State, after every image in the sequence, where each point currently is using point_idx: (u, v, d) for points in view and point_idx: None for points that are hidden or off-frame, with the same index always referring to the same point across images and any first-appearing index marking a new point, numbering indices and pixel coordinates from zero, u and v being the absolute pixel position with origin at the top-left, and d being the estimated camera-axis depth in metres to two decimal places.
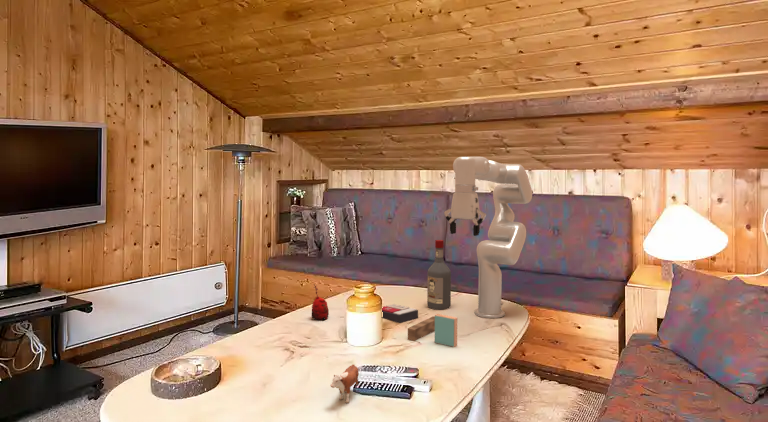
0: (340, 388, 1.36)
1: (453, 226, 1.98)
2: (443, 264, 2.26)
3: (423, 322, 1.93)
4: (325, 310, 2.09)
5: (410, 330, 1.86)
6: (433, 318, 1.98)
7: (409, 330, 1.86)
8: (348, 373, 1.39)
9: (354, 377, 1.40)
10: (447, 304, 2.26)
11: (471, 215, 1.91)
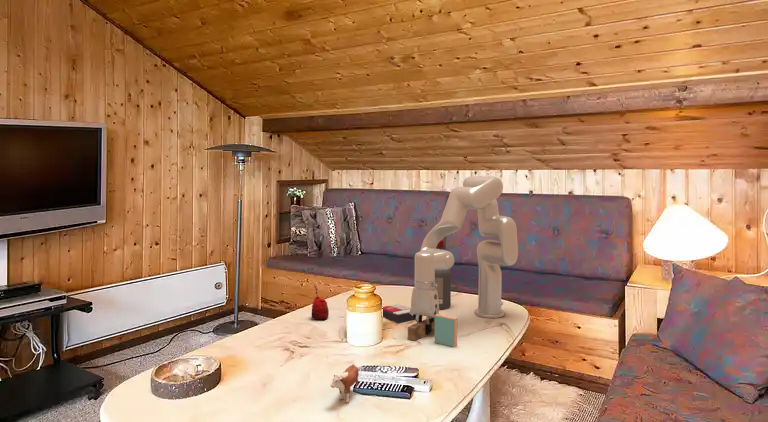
0: (340, 388, 1.36)
1: None
2: None
3: (423, 321, 1.93)
4: (325, 310, 2.09)
5: (410, 329, 1.86)
6: None
7: (409, 329, 1.86)
8: (348, 373, 1.39)
9: (354, 377, 1.40)
10: (447, 304, 2.26)
11: (430, 312, 1.88)
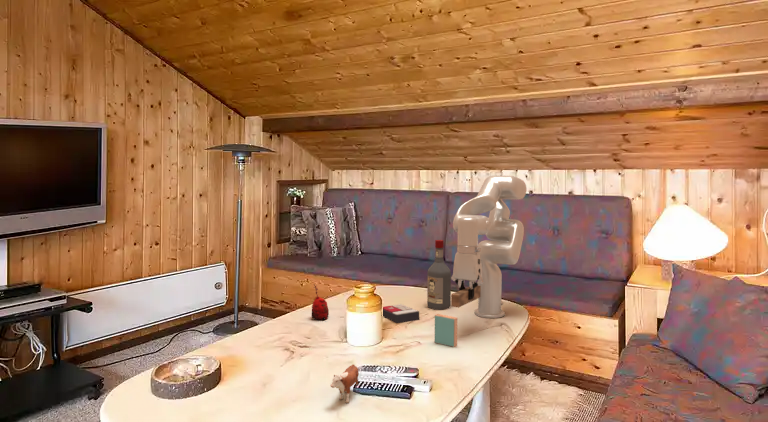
0: (340, 388, 1.36)
1: None
2: (443, 264, 2.26)
3: (465, 289, 1.93)
4: (325, 310, 2.09)
5: (454, 296, 1.86)
6: None
7: (453, 296, 1.86)
8: (348, 373, 1.39)
9: (354, 377, 1.40)
10: (447, 304, 2.26)
11: (473, 277, 1.89)
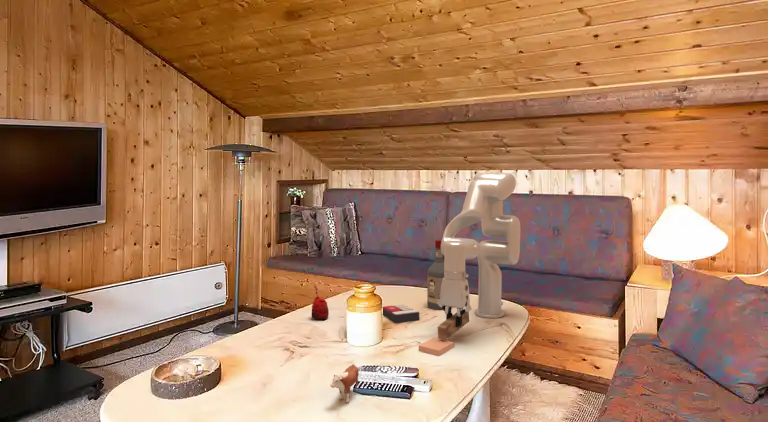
0: (340, 388, 1.36)
1: (449, 317, 1.87)
2: (443, 264, 2.26)
3: (452, 317, 1.86)
4: (325, 310, 2.09)
5: (440, 328, 1.79)
6: None
7: (439, 328, 1.79)
8: (348, 373, 1.39)
9: (354, 377, 1.40)
10: None
11: (461, 304, 1.82)
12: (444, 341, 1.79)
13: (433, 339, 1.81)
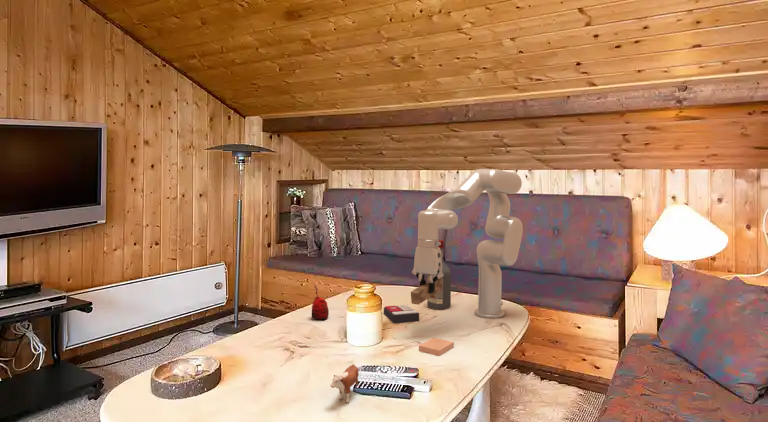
0: (340, 388, 1.36)
1: None
2: (443, 264, 2.26)
3: (425, 284, 1.93)
4: (325, 310, 2.09)
5: (413, 293, 1.86)
6: None
7: (412, 293, 1.86)
8: (348, 373, 1.39)
9: (354, 377, 1.40)
10: (447, 304, 2.26)
11: (433, 270, 1.89)
12: (444, 341, 1.79)
13: (433, 339, 1.81)
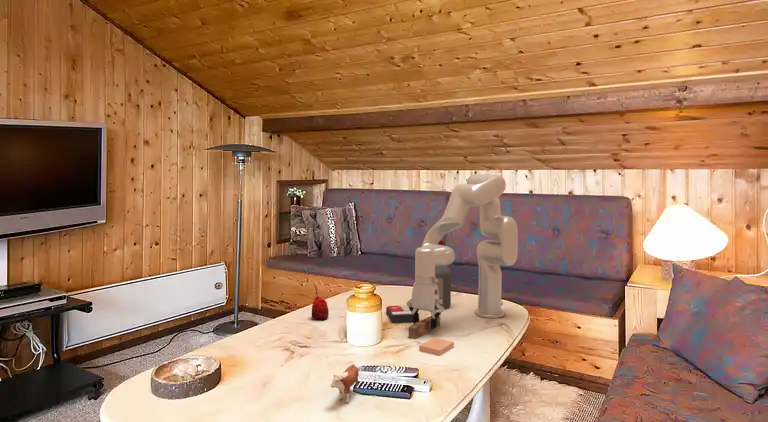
0: (340, 388, 1.36)
1: (416, 317, 1.96)
2: None
3: (423, 320, 1.95)
4: (325, 310, 2.09)
5: (411, 328, 1.88)
6: None
7: (410, 328, 1.88)
8: (348, 373, 1.39)
9: (354, 377, 1.40)
10: (447, 304, 2.26)
11: (430, 307, 1.90)
12: (444, 341, 1.79)
13: (433, 339, 1.81)
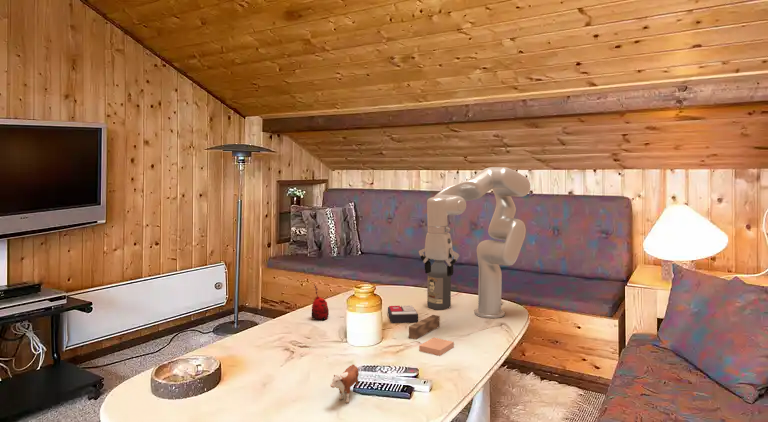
0: (340, 388, 1.36)
1: (428, 266, 1.98)
2: (443, 264, 2.26)
3: (423, 320, 1.95)
4: (325, 310, 2.09)
5: (411, 328, 1.88)
6: (433, 316, 2.00)
7: (410, 328, 1.88)
8: (348, 373, 1.39)
9: (354, 377, 1.40)
10: (447, 304, 2.26)
11: (444, 256, 1.92)
12: (444, 341, 1.79)
13: (433, 339, 1.81)
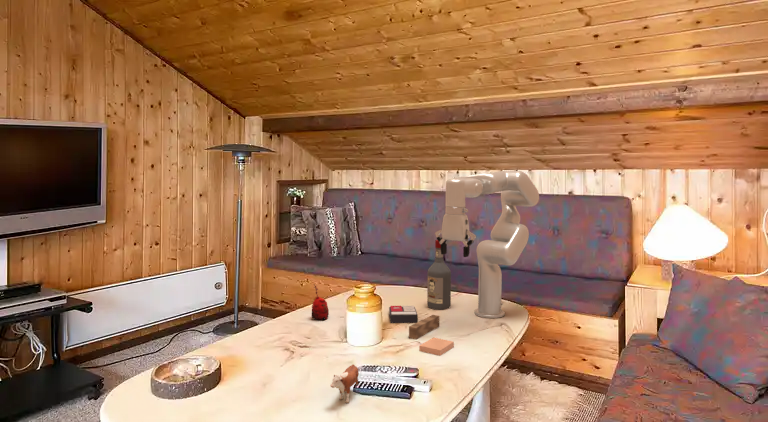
0: (340, 388, 1.36)
1: (444, 247, 2.01)
2: (443, 264, 2.26)
3: (423, 320, 1.95)
4: (325, 310, 2.09)
5: (411, 328, 1.88)
6: (433, 316, 2.00)
7: (410, 328, 1.88)
8: (348, 373, 1.39)
9: (354, 377, 1.40)
10: (447, 304, 2.26)
11: (461, 237, 1.94)
12: (444, 341, 1.79)
13: (433, 339, 1.81)
